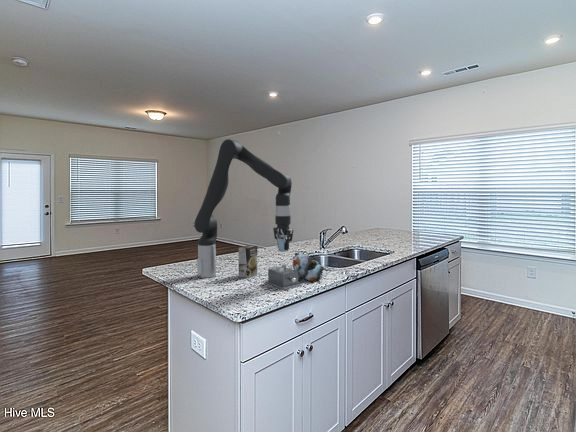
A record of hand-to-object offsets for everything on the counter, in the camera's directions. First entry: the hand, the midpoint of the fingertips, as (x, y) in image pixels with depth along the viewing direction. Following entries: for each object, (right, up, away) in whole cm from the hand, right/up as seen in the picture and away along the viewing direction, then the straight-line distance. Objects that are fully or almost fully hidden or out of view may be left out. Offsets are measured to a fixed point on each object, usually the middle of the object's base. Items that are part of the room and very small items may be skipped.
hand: (283, 248), depth 160 cm
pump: (0, -1, 0) cm, 1 cm away
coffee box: (-19, -16, +17) cm, 31 cm away
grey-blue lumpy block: (+13, -17, +11) cm, 24 cm away
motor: (0, -18, +1) cm, 18 cm away
